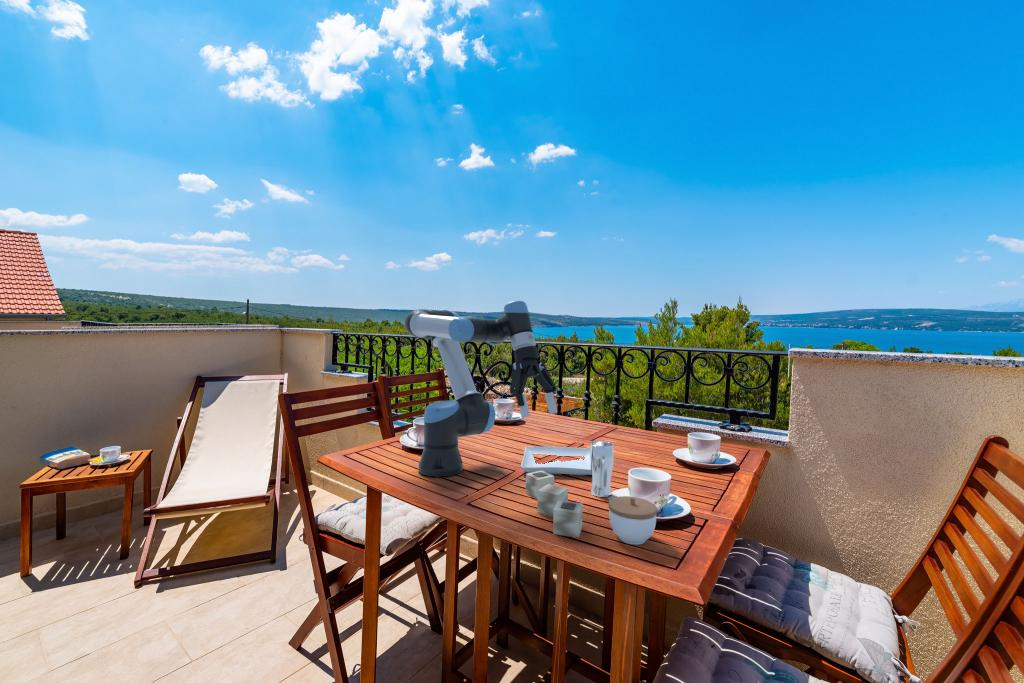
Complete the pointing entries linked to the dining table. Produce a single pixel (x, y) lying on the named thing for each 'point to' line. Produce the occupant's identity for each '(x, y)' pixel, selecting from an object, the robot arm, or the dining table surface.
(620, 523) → the lidded jar
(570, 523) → the marked block
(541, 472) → the marked block
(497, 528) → the dining table surface
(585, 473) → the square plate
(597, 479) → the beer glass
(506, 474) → the dining table surface
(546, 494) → the plain block
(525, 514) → the dining table surface
